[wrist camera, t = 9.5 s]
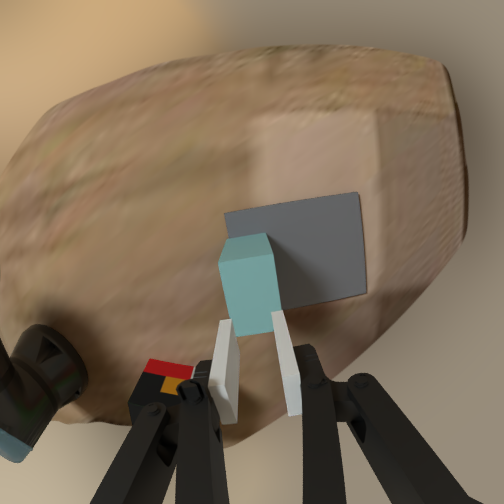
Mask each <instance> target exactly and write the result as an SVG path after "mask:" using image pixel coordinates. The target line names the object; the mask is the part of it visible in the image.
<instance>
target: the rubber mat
mask: <svg viewBox="0 0 504 504" xmlns="http://www.w3.org/2000/svg"><path fill="white" fill-rule="evenodd" d="M224 215H225V220H226V226H227V231H228V236H229V239H230V238H236V237H242V236H248V235H254V234H260V233H266V235H267V238H268V241H269V243H270V246H271V249H272V252H273V255H274V262H275V268H276V275H277V282H278V289H279V296H280V302H281V309H282V310H287V309H292V308H297V307H303V306H308V305H313V304H318V303H322V302H327V301H332V300H337V299H341V298H346V297H350V296H354V295H359V294H363V293H366V275H365V258H364V244H363V232H362V222H361V212H360V204H359V196H358V192H352V193H345V194H338V195H331V196H324V197H317V198H311V199H304V200H298V201H292V202H285V203H279V204H273V205H268V206H262V207H256V208H250V209H245V210H239V211H234V212H229V213H224Z"/></svg>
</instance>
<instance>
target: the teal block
mask: <svg viewBox="0 0 504 504" xmlns="http://www.w3.org/2000/svg"><path fill="white" fill-rule="evenodd" d="M218 265H219V270H220V275H221V280H222V284H223V289H224V294H225V298H226V303H227V307H228V312H229V316H230V319H232V322H233V326H234V330H235V335H236V337H238V336H246V335H252V334H259V333H265V332H272V331H274V327H273V321H272V315H271V312H275V311H280V310H282V309H281V302H280V296H279V289H278V282H277V275H276V268H275V262H274V255H273V252H272V249H271V246H270V243H269V241H268V238H267V235H266V233H260V234H254V235H248V236H242V237H236V238H230V239H227V240H226V243H225V245H224V248H223V251H222V253H221V256H220V259H219V261H218Z"/></svg>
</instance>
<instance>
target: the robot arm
mask: <svg viewBox="0 0 504 504" xmlns="http://www.w3.org/2000/svg"><path fill="white" fill-rule="evenodd" d="M271 315H272V321H273V327H274V333H275V339H276V345H277V351H278V356H279V362H280V368H281V374H282V380H283V386H284V392H285V398H286V404H287V410H288V415H289V416H294V415H300V414H302V424H303V425H302V426H303V504H346V495H345V483H344V474H343V466H342V458H341V450H340V443H339V435H338V428H337V422H346V423H347V425H348V426H349V428H350V430H351V432H352V434H353V435H354V437H355V439H356V441H357V443H358V444H359V446H360V448H361V450H362V451H363V453H364V455H365V457H366V459H367V460H368V462H369V464H370V466H371V467H372V469H373V471H374V472H375V475H376V476H377V478H378V480H379V482H380V483H381V485H382V487H383V489H384V491H385V492H386V494H387V496H388V498H389V500H390V501H391V503H392V504H483V503H481V502H479V501H477V500H475V499H473V498H471V497H469V496H468V495H467V494H466V492H465V491H464V490H463V488H462V487H461V486H460V484H459V483H458V482H457V481H456V479H455V478H454V477H453V475H452V474H451V473H450V471H449V470H448V469H447V468H446V466H445V465H444V464H443V463H442V461H441V460H440V459H439V457H438V456H437V455H436V453H435V452H434V451H433V450H432V448H431V447H430V446H429V445H428V443H427V442H426V441H425V440H424V438H423V437H422V436H421V435H420V433H419V432H418V431H417V430H416V428H415V427H414V426H413V425H412V423H411V422H410V421H409V420H408V418H407V417H406V416H405V415H404V413H403V412H402V411H401V409H400V408H399V407H398V406H397V404H396V403H395V402H394V401H393V400H392V398H391V397H390V396H389V395H388V393H387V392H386V391H385V390H384V388H383V387H382V386H381V385H380V383H379V382H378V381H377V380H376V379H375V377H373V376H372V375H370V374H368V373H358V374H355V375H353V376H351V377H350V378H349V379H348V382H335V381H332V380H330V379H329V378H328V377H326V376H325V374H324V371H323V368H322V366H321V363H320V361H319V358H318V355H317V353H316V350H315V348H314V347H313V346H311V345H310V344H305V345H300V346H295V347H292V343H291V339H290V335H289V331H288V328H287V324H286V320H285V316H284V313H283V310H280V311H275V312H271ZM239 365H240V351H239V347H238V343H237V339H236V335H235V330H234V326H233V322H232V319H226V320H220V324H219V329H218V334H217V339H216V345H215V350H214V355H213V360H204V361H200V362H199V363H198V365H197V366H196V368H195V372H194V375H193V379H188V380H184V381H182V382H181V383H179V384H178V385H177V387H176V391H177V394H178V396H179V398H180V400H181V403H180V404H178V405H175V406H171V407H167V408H166V406H165V405H164V404H163V403H160V402H153V403H150V404H148V405H146V406H144V408H143V409H142V410H141V412H140V414H139V415H138V417H137V419H136V421H135V422H134V424H133V426H132V428H131V430H130V431H129V433H128V435H127V437H126V439H125V440H124V442H123V444H122V446H121V447H120V449H119V451H118V453H117V455H116V457H115V458H114V460H113V462H112V464H111V465H110V467H109V469H108V471H107V473H106V475H105V476H104V479H103V480H102V482H101V484H100V486H99V487H98V489H97V491H96V493H95V495H94V497H93V499H92V500H91V502H90V504H162V503H163V500H164V497H165V494H166V491H167V489H168V486H169V483H170V481H171V478H172V475H173V472H174V470H175V467H176V464H177V468H176V494H175V495H176V496H175V504H229V496H228V488H227V479H226V471H225V462H224V452H223V442H222V431H221V429H220V426H219V422H220V420H221V423H222V425H224V424H236V423H237V417H238V390H239ZM87 384H88V376H87V372H86V369H85V366H84V364H83V362H82V360H81V358H80V356H79V355H78V353H77V352H76V350H75V349H74V348H73V347H72V345H71V344H70V343H69V342H68V341H67V340H66V339H65V338H64V337H63V336H62V335H60V334H59V333H58V332H56V331H55V330H53V329H52V328H50V327H48V326H45V325H41V324H35V325H32V326H30V327H29V328H28V329H27V330H25V331H24V332H23V333H22V334H21V336H20V338H19V340H18V342H17V344H16V346H15V348H14V350H13V352H12V354H11V356H10V358H9V356H8V354H7V352H6V350H5V348H4V345H3V343H2V341H1V338H0V455H1V456H2V457H4V458H5V459H7V460H9V461H11V462H14V463H20V462H22V461H23V460H24V459H25V457H26V456H27V455H28V454H29V452H30V451H32V450H33V447H34V445H35V444H36V442H37V441H38V439H39V438H40V436H41V435H42V433H43V431H44V430H45V428H46V427H47V425H48V424H49V422H50V421H51V419H52V418H53V416H54V415H55V413H56V412H57V411H58V410H59V409H60V408H62V407H64V406H65V405H67V404H69V403H71V402H72V401H74V400H76V399H77V398H79V397H80V396H81V394H82V393H83V392H84V390H85V389H86V387H87Z"/></svg>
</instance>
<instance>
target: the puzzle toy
mask: <svg viewBox="0 0 504 504" xmlns="http://www.w3.org/2000/svg"><path fill="white" fill-rule="evenodd" d="M195 368H196V367H193V366H187V365H181V364H175V363H170V362H164V361H159V360H154V359H149V361H148V363H147V365H146V367H145V369H144V371H143V373H142V375H141V377H140V379H139V381H138V383H137V385H136V387H135V389H134V391H133V393H132V395H131V397H130V399H129V401H128V406H129V411H130V416H131V421H132V425H133V424H134V422H135V421H136V419H137V417H138V415H139V414H140V412H141V410H142V409H143V408H144V406H146V405H148V404H150V403H153V402H160V403H163V404H164V405H165V406H166V408H167V407H171V406H175V405H178V404H180V403H181V400H180V398H179V396H178V394H177V391H176V387H177V385H178V384H179V383H181V382H182V381H184V380H188V379H193V375H194V372H195Z"/></svg>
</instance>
